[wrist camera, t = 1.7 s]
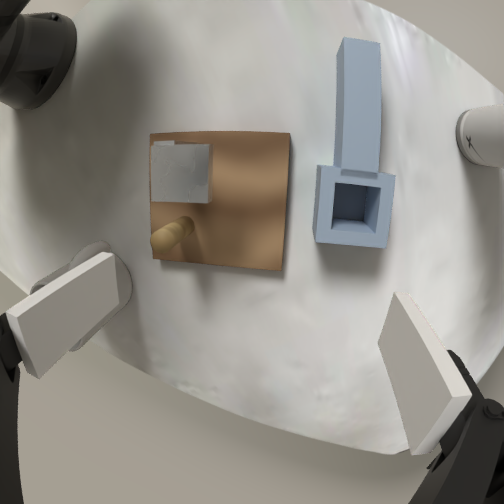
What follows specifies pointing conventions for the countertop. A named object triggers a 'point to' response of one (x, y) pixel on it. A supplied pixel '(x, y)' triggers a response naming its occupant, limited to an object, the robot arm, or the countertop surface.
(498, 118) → the travel mug
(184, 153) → the block
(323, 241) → the link
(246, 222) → the board
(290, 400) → the countertop surface
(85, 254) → the mug
